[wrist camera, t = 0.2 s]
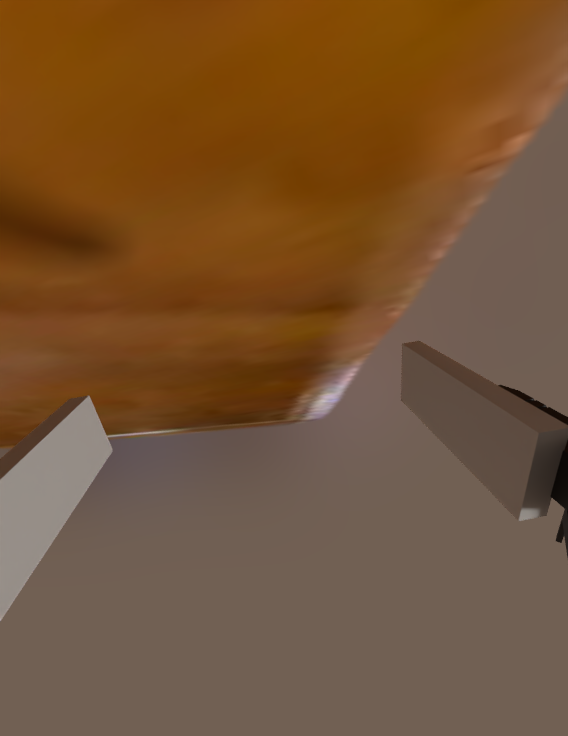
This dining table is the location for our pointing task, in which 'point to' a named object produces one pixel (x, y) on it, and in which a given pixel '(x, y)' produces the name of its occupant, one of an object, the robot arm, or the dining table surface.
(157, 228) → the dining table surface
